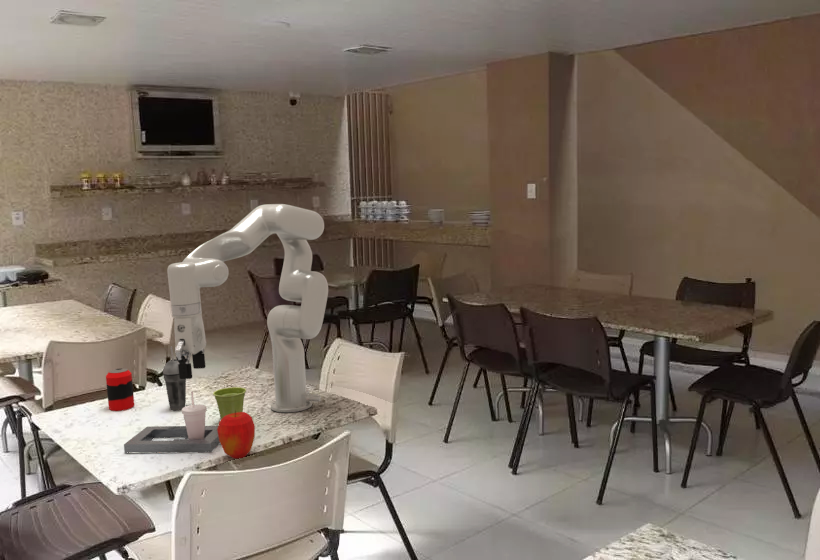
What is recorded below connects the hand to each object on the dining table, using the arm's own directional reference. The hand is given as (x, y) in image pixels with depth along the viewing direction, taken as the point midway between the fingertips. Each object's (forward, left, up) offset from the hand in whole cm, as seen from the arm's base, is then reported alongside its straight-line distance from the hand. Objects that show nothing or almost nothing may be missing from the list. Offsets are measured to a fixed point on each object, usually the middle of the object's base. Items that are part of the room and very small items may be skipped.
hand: (193, 373), depth 189 cm
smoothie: (0, 0, -19) cm, 19 cm away
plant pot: (-3, -19, -19) cm, 27 cm away
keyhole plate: (+5, 0, -19) cm, 20 cm away
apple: (-14, +11, -19) cm, 26 cm away
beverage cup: (+18, -31, -19) cm, 40 cm away
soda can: (+37, -33, -19) cm, 53 cm away
